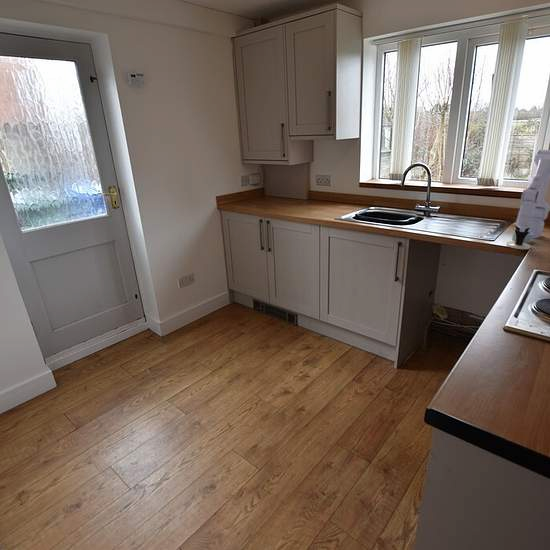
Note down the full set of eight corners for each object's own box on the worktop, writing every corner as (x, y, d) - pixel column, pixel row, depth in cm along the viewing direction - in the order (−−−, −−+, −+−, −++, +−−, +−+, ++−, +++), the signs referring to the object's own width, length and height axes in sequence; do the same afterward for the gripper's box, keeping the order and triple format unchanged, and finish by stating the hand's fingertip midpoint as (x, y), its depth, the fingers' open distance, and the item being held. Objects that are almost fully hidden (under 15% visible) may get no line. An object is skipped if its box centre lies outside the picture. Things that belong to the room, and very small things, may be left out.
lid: (513, 242, 184) (514, 234, 183) (534, 247, 176) (536, 239, 175) (501, 245, 179) (503, 237, 178) (523, 250, 171) (525, 242, 170)
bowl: (517, 238, 191) (519, 229, 190) (533, 242, 185) (536, 233, 183) (508, 240, 188) (510, 232, 186) (525, 244, 181) (527, 235, 180)
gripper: (516, 211, 180) (510, 238, 185) (514, 217, 169) (508, 245, 174) (534, 213, 176) (526, 240, 181) (533, 219, 165) (525, 248, 170)
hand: (518, 243), depth 177 cm, fingers open, 5 cm apart
